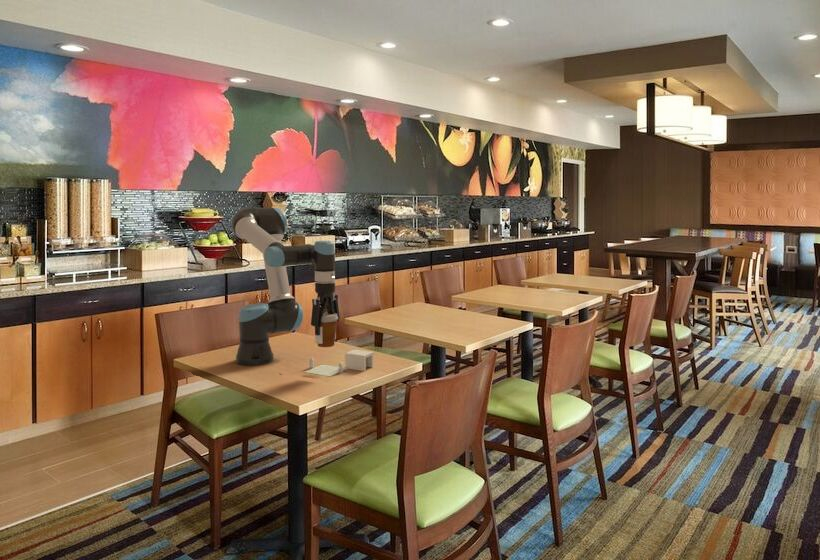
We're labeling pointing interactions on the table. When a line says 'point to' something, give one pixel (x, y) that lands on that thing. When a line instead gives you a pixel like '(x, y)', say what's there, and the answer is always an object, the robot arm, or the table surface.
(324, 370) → the board
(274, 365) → the table surface
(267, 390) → the table surface
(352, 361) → the block
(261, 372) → the table surface
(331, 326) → the disposable coffee cup
